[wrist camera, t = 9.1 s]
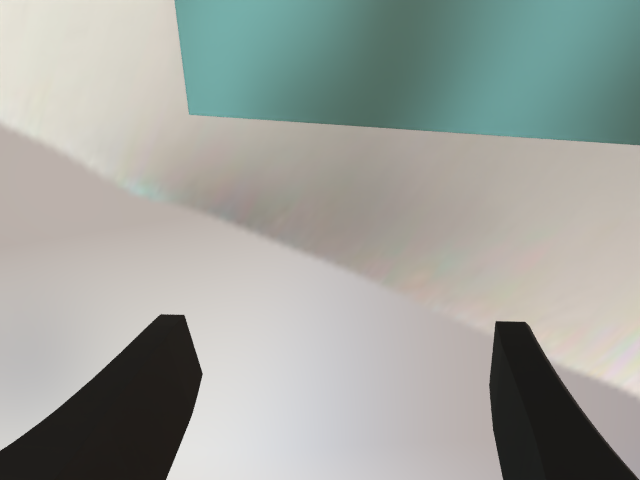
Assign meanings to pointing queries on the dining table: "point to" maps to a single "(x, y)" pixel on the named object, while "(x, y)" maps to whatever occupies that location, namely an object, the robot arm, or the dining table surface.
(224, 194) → the dining table surface
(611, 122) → the socket board
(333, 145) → the dining table surface
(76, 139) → the dining table surface
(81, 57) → the dining table surface
